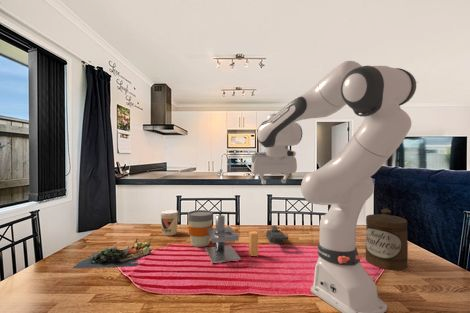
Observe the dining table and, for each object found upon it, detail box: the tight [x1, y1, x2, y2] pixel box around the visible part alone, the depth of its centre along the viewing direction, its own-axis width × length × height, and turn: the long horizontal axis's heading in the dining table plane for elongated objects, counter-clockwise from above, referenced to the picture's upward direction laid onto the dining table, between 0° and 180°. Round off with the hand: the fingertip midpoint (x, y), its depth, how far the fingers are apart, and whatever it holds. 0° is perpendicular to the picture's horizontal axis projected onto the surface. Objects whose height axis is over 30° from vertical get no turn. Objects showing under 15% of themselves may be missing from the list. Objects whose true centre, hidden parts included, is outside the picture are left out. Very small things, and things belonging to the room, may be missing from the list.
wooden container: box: [365, 207, 409, 271], centre depth 106 cm, size 15×15×22 cm
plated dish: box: [72, 238, 152, 269], centre depth 111 cm, size 35×28×7 cm
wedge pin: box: [248, 230, 259, 257], centre depth 112 cm, size 3×3×10 cm
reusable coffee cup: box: [187, 209, 214, 247], centre depth 127 cm, size 13×13×15 cm
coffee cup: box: [160, 209, 179, 237], centre depth 142 cm, size 9×9×12 cm
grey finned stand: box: [204, 214, 242, 264], centre depth 112 cm, size 16×12×16 cm
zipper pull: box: [265, 225, 289, 245], centre depth 129 cm, size 9×7×25 cm
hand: (273, 183), depth 113 cm, fingers open, 8 cm apart
